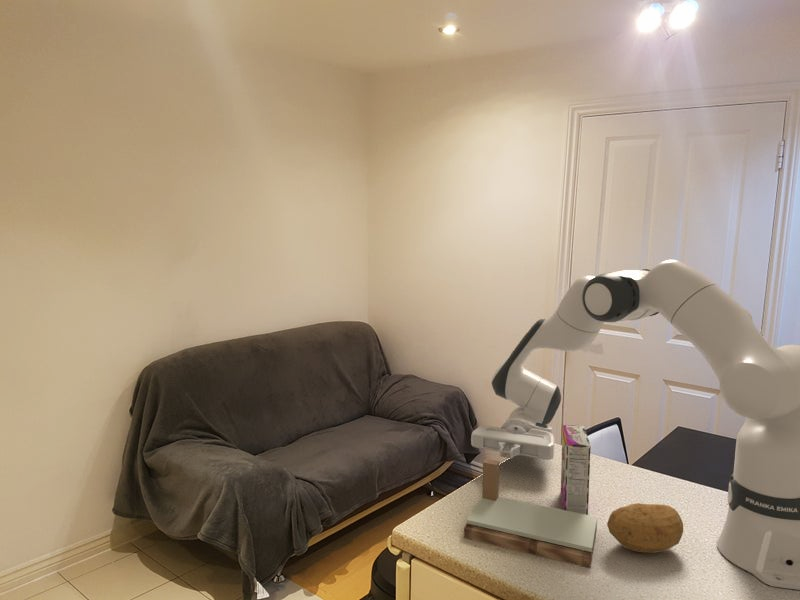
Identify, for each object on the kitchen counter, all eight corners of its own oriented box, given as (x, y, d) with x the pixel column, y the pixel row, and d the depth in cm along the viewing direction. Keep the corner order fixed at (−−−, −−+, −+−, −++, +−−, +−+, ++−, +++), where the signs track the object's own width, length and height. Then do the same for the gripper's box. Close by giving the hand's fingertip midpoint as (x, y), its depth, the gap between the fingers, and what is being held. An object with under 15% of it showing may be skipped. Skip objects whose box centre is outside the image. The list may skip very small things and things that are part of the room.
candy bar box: (558, 492, 125) (561, 423, 123) (581, 494, 124) (585, 425, 122) (563, 518, 114) (566, 443, 112) (588, 521, 113) (592, 445, 111)
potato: (595, 535, 108) (597, 497, 107) (663, 531, 109) (666, 494, 108) (619, 566, 98) (622, 524, 97) (694, 561, 100) (697, 520, 99)
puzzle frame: (596, 530, 110) (597, 521, 109) (590, 568, 98) (590, 557, 98) (482, 506, 119) (482, 497, 119) (464, 537, 107) (464, 528, 107)
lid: (597, 520, 109) (599, 479, 108) (591, 552, 99) (594, 506, 98) (482, 496, 119) (483, 458, 118) (466, 523, 108) (467, 481, 107)
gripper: (479, 416, 145) (463, 434, 132) (558, 427, 137) (550, 448, 124) (478, 438, 146) (463, 459, 133) (558, 451, 138) (548, 475, 125)
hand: (505, 454), depth 129 cm, fingers closed
